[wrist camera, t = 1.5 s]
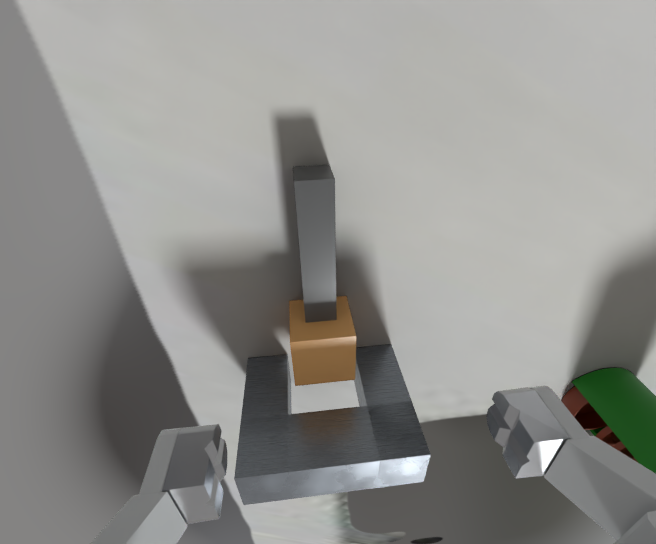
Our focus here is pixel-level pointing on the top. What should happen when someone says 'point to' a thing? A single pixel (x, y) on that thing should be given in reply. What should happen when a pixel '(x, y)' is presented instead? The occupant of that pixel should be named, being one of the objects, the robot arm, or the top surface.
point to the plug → (319, 287)
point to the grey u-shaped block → (327, 434)
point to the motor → (617, 412)
